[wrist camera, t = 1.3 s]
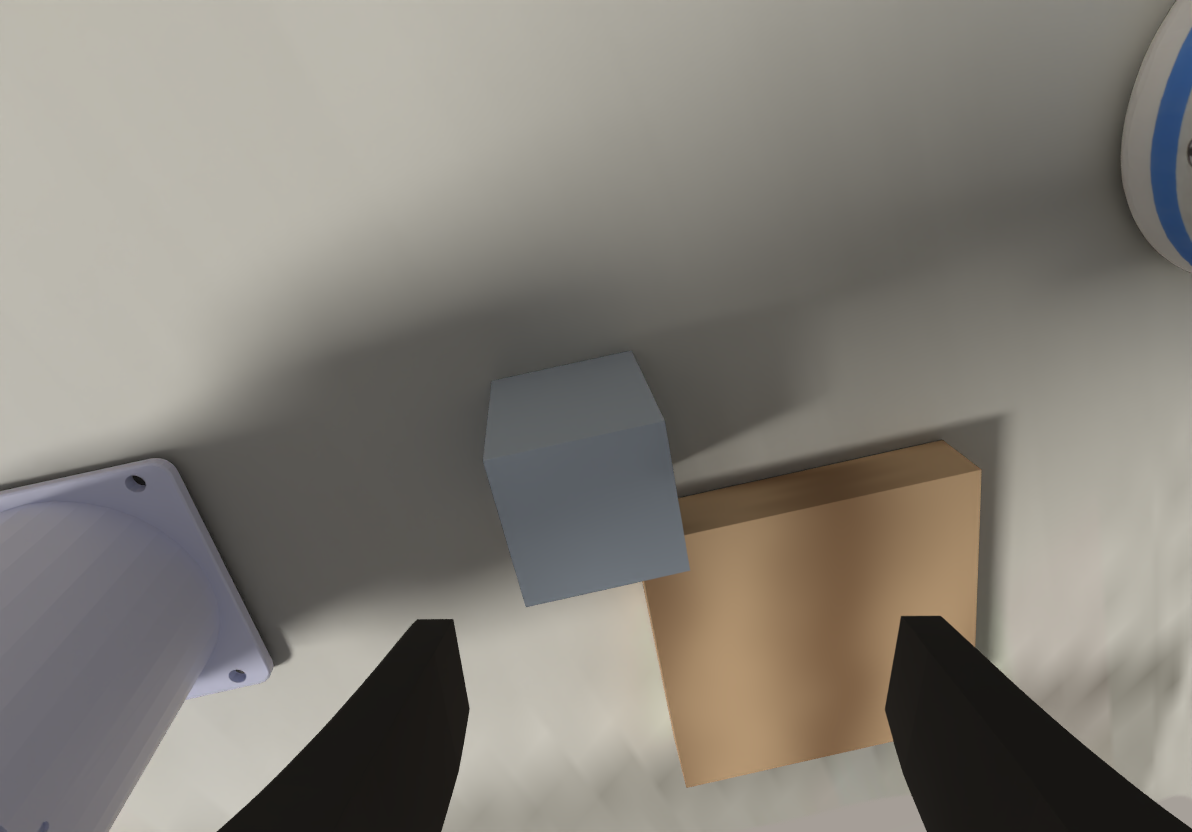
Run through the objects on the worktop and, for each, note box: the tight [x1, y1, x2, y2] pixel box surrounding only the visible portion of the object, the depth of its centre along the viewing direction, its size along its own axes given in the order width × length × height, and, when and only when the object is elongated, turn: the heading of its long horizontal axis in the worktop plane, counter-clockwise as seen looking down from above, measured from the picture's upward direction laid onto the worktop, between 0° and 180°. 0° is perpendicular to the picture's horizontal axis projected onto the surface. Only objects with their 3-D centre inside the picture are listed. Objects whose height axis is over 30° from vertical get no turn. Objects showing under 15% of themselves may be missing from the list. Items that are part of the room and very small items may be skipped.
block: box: [483, 351, 690, 607], centre depth 18 cm, size 4×4×5 cm
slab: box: [642, 440, 982, 788], centre depth 23 cm, size 10×10×2 cm
